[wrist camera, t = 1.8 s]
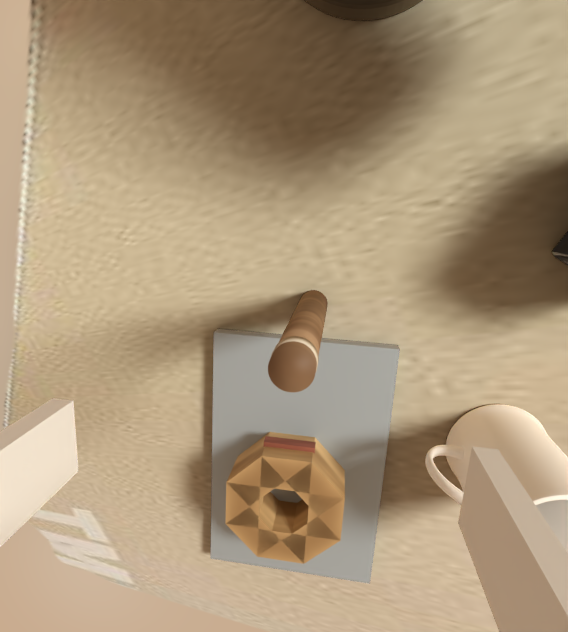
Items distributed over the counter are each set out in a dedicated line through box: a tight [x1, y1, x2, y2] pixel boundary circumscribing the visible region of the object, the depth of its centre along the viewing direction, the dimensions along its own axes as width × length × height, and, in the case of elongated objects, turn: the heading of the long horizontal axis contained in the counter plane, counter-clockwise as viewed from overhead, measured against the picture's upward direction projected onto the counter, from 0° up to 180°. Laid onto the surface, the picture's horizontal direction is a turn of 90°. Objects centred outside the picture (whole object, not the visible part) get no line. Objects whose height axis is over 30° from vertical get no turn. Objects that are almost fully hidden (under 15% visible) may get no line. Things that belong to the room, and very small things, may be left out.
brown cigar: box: [268, 290, 327, 392], centre depth 29 cm, size 2×2×16 cm
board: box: [211, 329, 400, 584], centre depth 40 cm, size 24×16×1 cm, turn 177°
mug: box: [425, 404, 568, 553], centre depth 32 cm, size 12×8×12 cm
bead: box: [225, 432, 345, 564], centre depth 38 cm, size 11×10×4 cm
